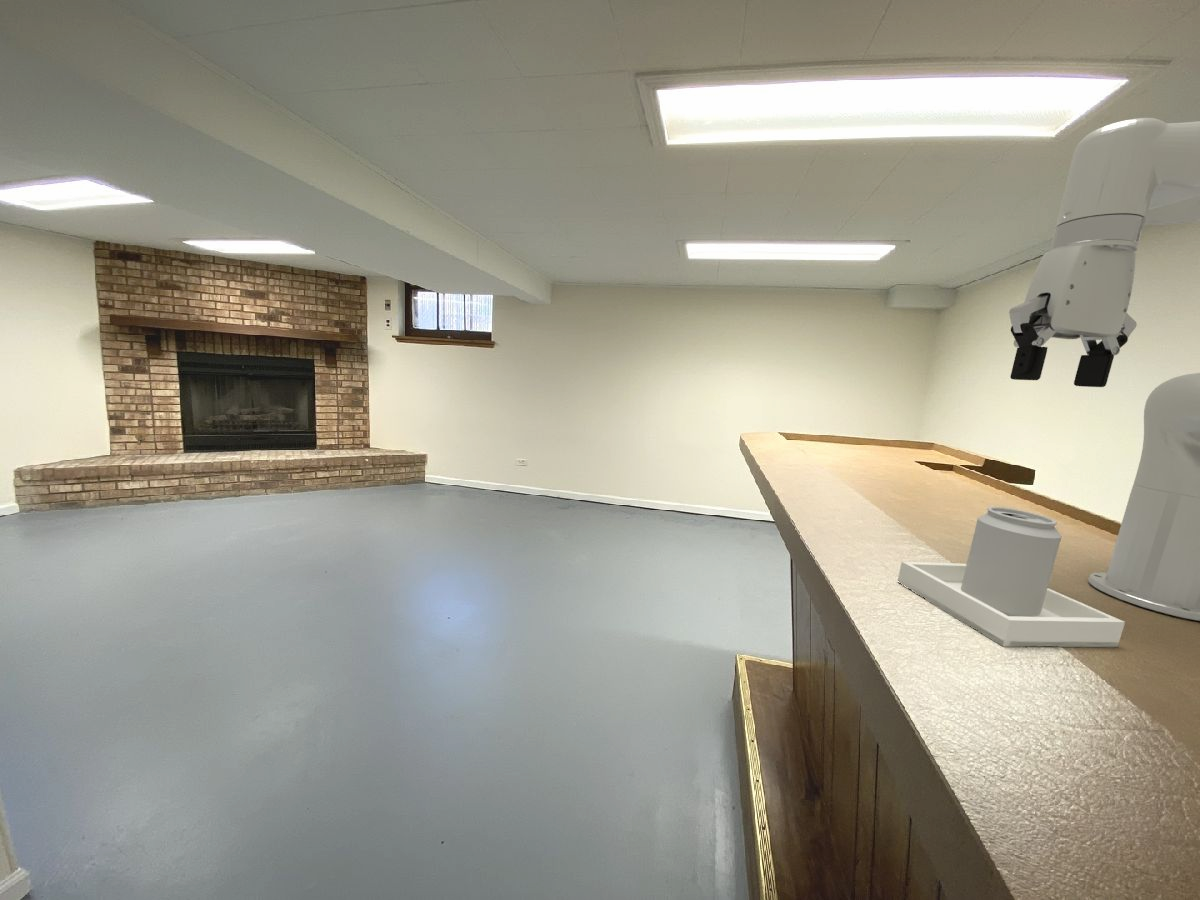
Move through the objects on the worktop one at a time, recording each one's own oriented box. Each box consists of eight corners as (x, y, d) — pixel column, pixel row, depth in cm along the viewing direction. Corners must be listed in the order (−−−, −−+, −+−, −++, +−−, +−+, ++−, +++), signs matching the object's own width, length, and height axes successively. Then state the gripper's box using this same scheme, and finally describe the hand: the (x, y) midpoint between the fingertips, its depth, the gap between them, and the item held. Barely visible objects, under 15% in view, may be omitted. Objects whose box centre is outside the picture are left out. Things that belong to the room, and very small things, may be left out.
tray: (989, 584, 65) (995, 564, 64) (1117, 647, 50) (1125, 622, 50) (897, 582, 63) (901, 561, 62) (1002, 646, 48) (1009, 620, 48)
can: (1006, 596, 60) (1029, 507, 58) (1056, 627, 52) (1085, 527, 50) (945, 588, 60) (966, 500, 58) (987, 618, 53) (1012, 519, 51)
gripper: (1114, 257, 61) (1079, 387, 64) (1001, 239, 58) (970, 376, 61) (1193, 242, 53) (1150, 390, 56) (1068, 221, 51) (1029, 378, 54)
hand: (1056, 383), depth 59 cm, fingers open, 9 cm apart
